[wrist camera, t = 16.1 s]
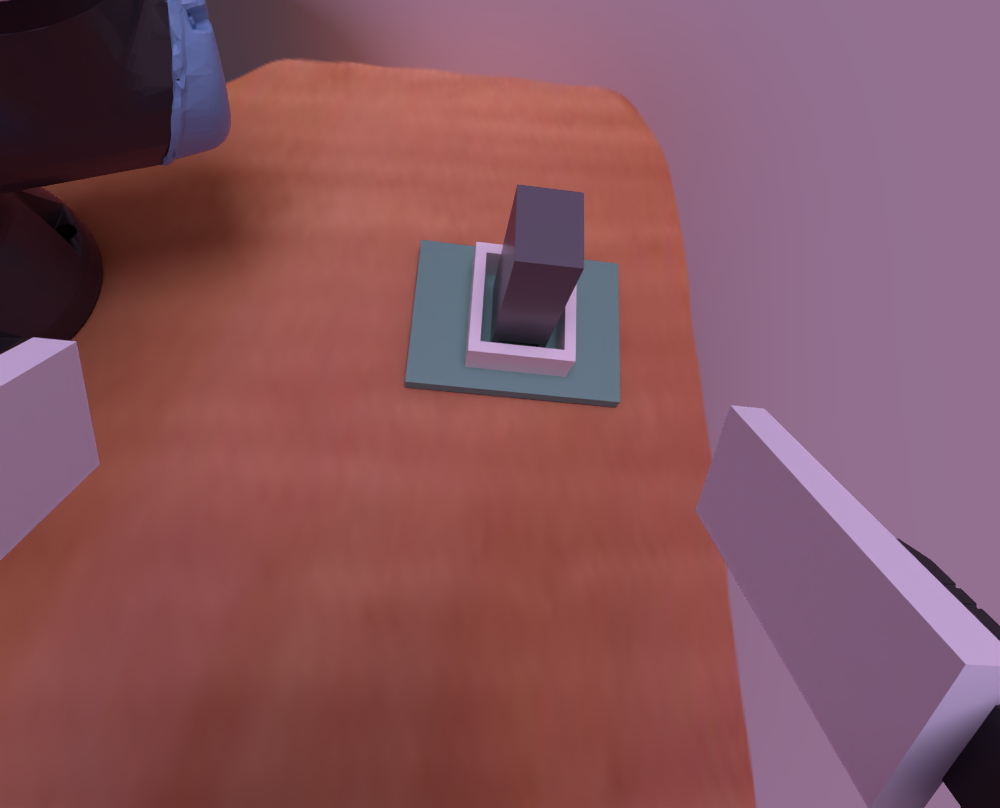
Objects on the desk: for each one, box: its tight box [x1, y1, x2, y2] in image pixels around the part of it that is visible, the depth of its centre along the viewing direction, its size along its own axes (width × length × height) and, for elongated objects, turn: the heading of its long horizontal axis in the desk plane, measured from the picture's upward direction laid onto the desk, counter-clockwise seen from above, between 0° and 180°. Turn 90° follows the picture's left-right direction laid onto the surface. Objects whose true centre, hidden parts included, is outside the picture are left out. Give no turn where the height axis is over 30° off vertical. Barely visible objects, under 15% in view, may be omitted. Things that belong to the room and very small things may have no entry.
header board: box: [405, 240, 620, 407], centre depth 45 cm, size 16×12×4 cm
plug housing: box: [490, 185, 584, 348], centre depth 40 cm, size 4×5×12 cm
